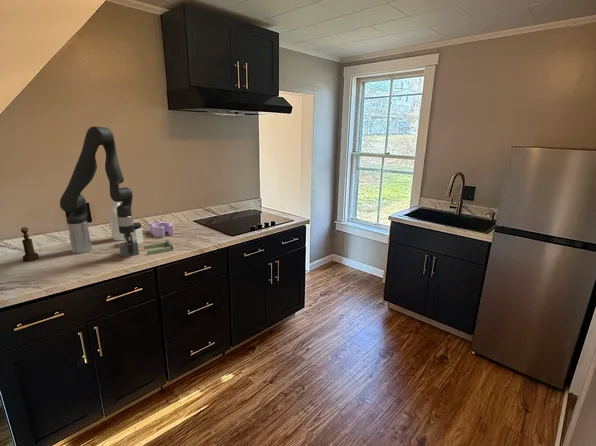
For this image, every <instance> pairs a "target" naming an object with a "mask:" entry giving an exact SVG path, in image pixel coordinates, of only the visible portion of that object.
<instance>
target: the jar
mask: <svg viewBox="0 0 596 446" xmlns="http://www.w3.org/2000/svg"><path fill="white" fill-rule="evenodd" d="M134 229H135V231H134V232H132V233H130V234H131V235H132V240H137V242H138V245H140V244H142V243H144V236H143V235H144V234H143V229H142V223H141V222H134Z"/></svg>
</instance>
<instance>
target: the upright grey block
mask: <svg viewBox="0 0 596 446" xmlns="http://www.w3.org/2000/svg"><path fill="white" fill-rule="evenodd" d="M129 245H131V244H129ZM118 248H119V249H118V250H119V255H120V256H119V257H120V258H121V259H122V258H125V257H126V258H127V257H132V256H137V255H140V251H139V244H138V242H137V240H133V254H129V251H128V247H127V244H126V243H123V244H118Z"/></svg>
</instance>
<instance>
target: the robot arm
mask: <svg viewBox="0 0 596 446" xmlns="http://www.w3.org/2000/svg"><path fill="white" fill-rule="evenodd" d="M100 146H102V147H103V149H104V152H105V153H104V154H105V161H104V170H105V174H106V176H107V179H108V182H109V196H110V199H111V198H112V200H113V201H115V202H121V204H120V205H119V206H118V207H117V208H116V210H117V216H118V226H119V232H120V233H121V234H124V235H123V236H124V240H123V241H124V244H127V247H128V251H129V254H133V240H132V235H131V234H130V233H132V232H134V231H135V229H134V223H135V222H134V218H133V212H132V204H133V203H132V202H133V198H134V197H133V196H134V195H133V192H132V190H131V188H130V187H127V186H126V187H125V186H124V187H120V184H123V183H124V181H125V178H124V176H123V173H122V170H121V167H120V163H119V159H118V154H117V148H116V141H115V137H114V133H113V131H112V130H111V129H110V128H108V127H103V126H97V125H96V126H95V125H94V126H91V127H89V128H88V129H87V130H86V134H85V136H84V140H83V145H82V148H81V152H80V154H79V157H78V159H77V162H76V164H75V166H74V169H73V171H72V174H71V177H70V180H69V182H68V184H67V187H66V188H65V190H64V192H63V194H62V195H61V197H60V200H59V206H60V208H61V210H62V211H64V212H66V213H70V214H69V216H67V217H66V223H67V228H68V234H69V240H70V245H71V249H72V250H71V251H72V254H81V253H87V252H90V251H92V250H93V249H92V242H91V237H90V231H89V225H88V207H87V206H88V205H87V200H86V199H85V197H84V196H83V195H82V194H81V193H82V192H83V190H85V188H87V186H89V184H90V183H91V181H93V179H94V177H95V174H96V172H97V169H98V164H97V159H96V154H97V151H98V149H99V147H100ZM129 244H131V245H129Z"/></svg>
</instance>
